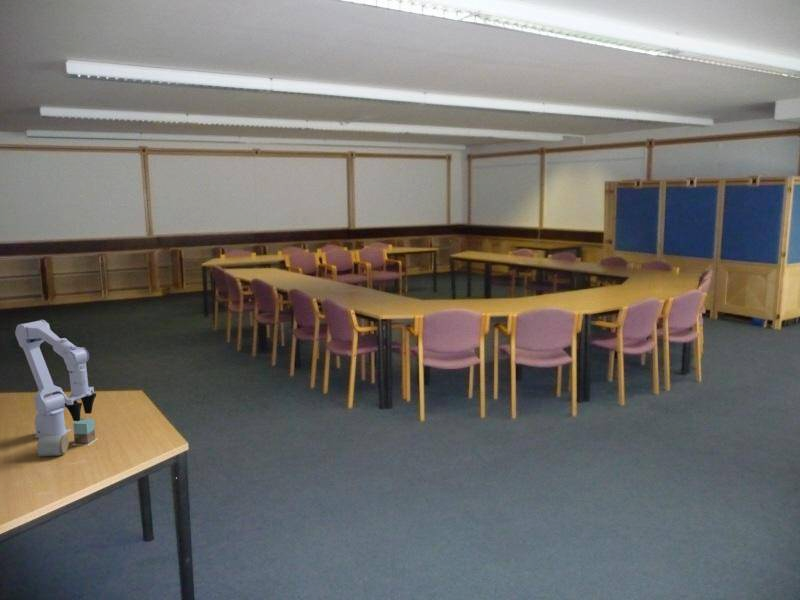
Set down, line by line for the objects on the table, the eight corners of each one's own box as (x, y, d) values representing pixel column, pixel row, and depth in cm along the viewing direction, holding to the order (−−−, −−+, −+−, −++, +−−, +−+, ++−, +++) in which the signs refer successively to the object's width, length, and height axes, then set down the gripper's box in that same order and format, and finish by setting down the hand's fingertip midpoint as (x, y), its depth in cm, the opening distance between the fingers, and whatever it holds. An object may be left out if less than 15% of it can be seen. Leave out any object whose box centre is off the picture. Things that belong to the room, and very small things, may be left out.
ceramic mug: (62, 458, 222) (60, 437, 220) (37, 460, 221) (35, 439, 219) (73, 446, 232) (71, 426, 231) (49, 448, 231) (47, 428, 230)
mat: (61, 446, 231) (61, 446, 231) (75, 437, 240) (75, 436, 240) (87, 447, 231) (87, 446, 231) (100, 437, 240) (100, 437, 240)
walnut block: (74, 444, 233) (73, 433, 232) (82, 438, 238) (81, 428, 237) (88, 444, 233) (87, 434, 232) (95, 439, 238) (94, 428, 237)
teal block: (74, 433, 232) (73, 423, 232) (82, 428, 237) (81, 418, 237) (87, 434, 232) (86, 423, 231) (94, 429, 237) (93, 418, 236)
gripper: (78, 387, 224) (82, 424, 226) (100, 375, 238) (103, 410, 241) (59, 387, 224) (63, 424, 227) (82, 375, 239) (85, 409, 241)
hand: (82, 417), depth 234 cm, fingers open, 7 cm apart
